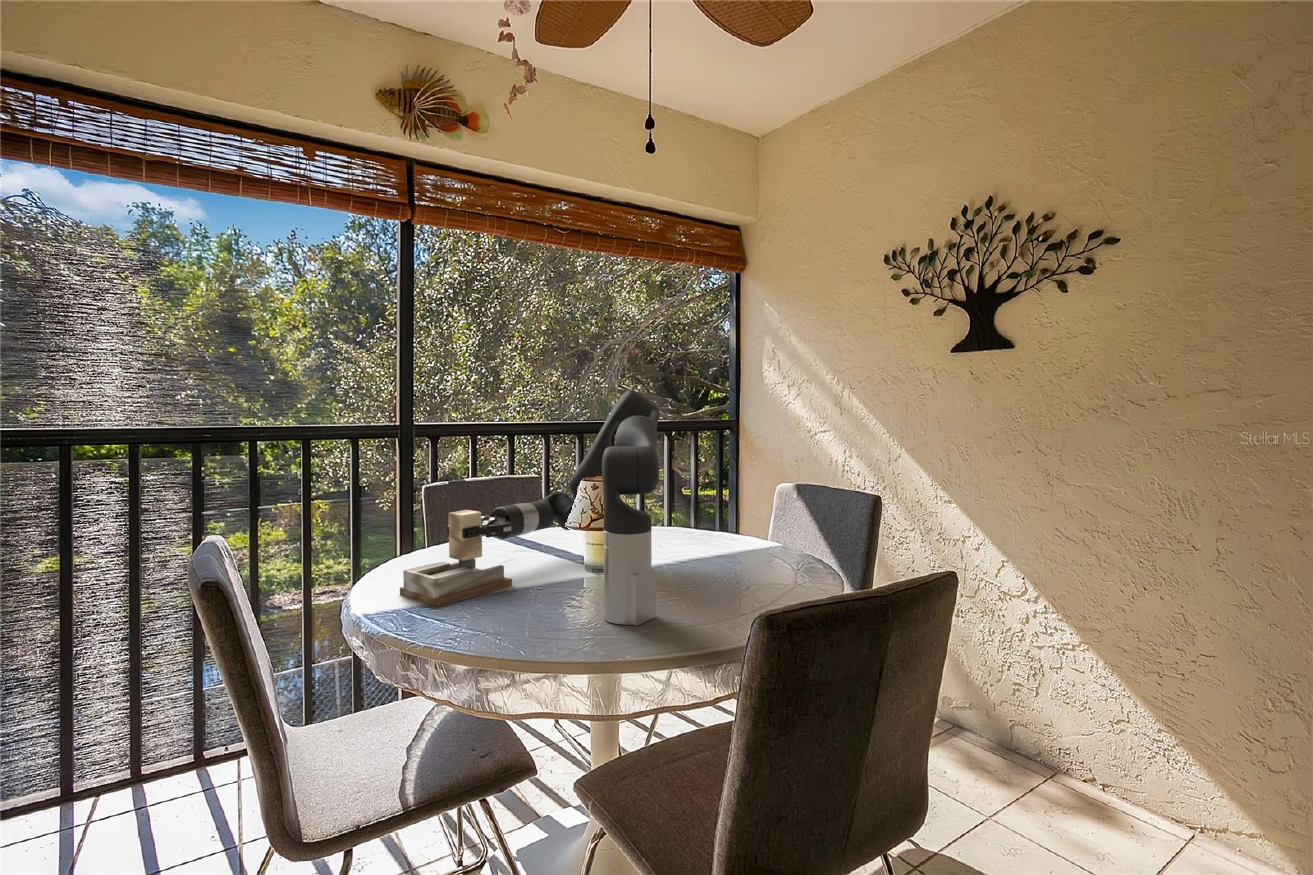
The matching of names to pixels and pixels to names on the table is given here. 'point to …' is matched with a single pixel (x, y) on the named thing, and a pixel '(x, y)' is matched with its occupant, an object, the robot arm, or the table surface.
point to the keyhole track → (451, 582)
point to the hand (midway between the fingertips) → (455, 532)
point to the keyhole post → (459, 546)
